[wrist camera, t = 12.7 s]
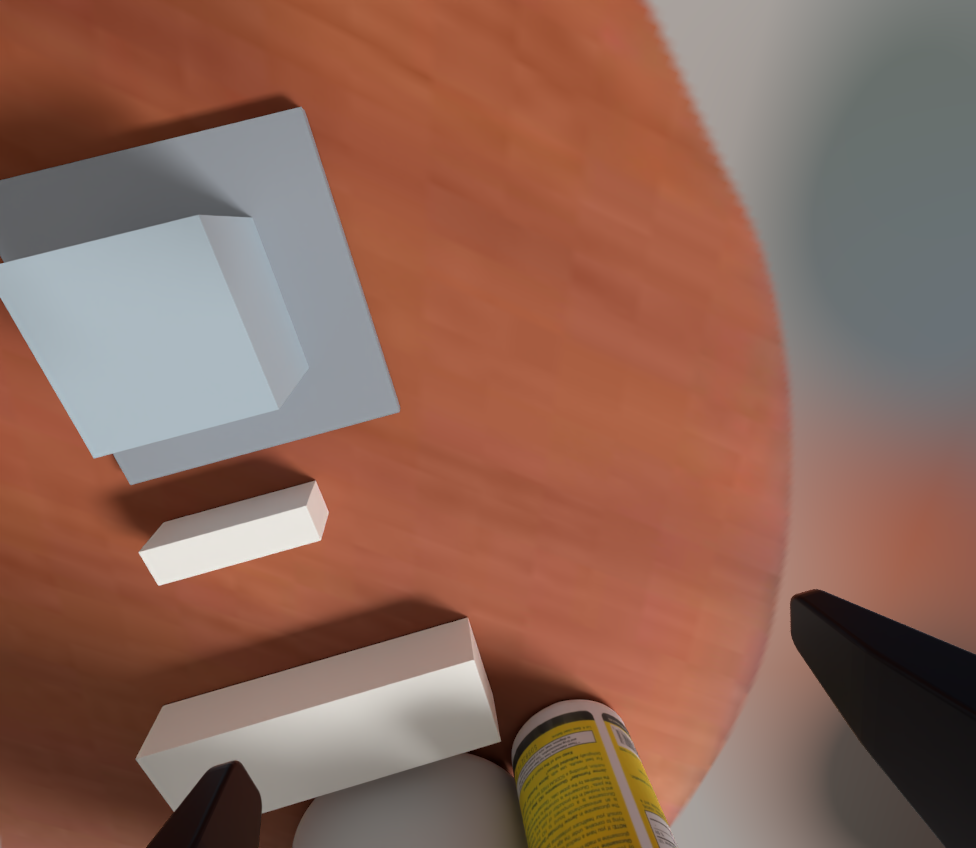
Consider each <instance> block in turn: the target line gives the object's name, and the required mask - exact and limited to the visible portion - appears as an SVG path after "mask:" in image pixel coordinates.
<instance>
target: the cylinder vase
mask: <svg viewBox="0 0 976 848" xmlns="http://www.w3.org/2000/svg"><path fill="white" fill-rule="evenodd" d="M292 848H528V845H527V839H526V834H525V829H524V824H523V819H522V814H521V809H520V804H519V799H518V794H517V789H516V783H515V779H514V778H513V777H512V776H511V775H510V774H509V773H508V772H507V771H505V770H504V769H503V768H501V767H499V766H498V765H496V764H494V763H493V762H491V761H489V760H486V759H484V758H481V757H479V756H476V755H472V754H469V753H461V754H458V755H455V756H451V757H448V758H445V759H441V760H438V761H435V762H432V763H428V764H425V765H422V766H418V767H415V768H412V769H408V770H405V771H402V772H398V773H395V774H392V775H388V776H385V777H382V778H378V779H375V780H372V781H368V782H365V783H362V784H358V785H355V786H352V787H349V788H345V789H342V790H339V791H335V792H332V793H329V794H325V795H322V796H319V797H316V798H315V799H314V801H313V802H312V803H311V804H310V806H309V807H308V809H307V810H306V812H305V813H304V815H303V817H302V819H301V821H300V823H299V825H298V827H297V830H296V833H295V836H294V840H293V845H292Z"/></svg>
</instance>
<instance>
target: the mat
mask: <svg viewBox="0 0 976 848" xmlns="http://www.w3.org/2000/svg"><path fill="white" fill-rule="evenodd" d="M195 215H212V216H231V217H250V218H253V221H254V223H255V226H256V229H257V231H258V234H259V236H260V239H261V242H262V244H263V247H264V250H265V252H266V255H267V258H268V260H269V263H270V266H271V268H272V271H273V274H274V276H275V279H276V281H277V284H278V287H279V289H280V292H281V295H282V297H283V300H284V303H285V305H286V308H287V311H288V313H289V316H290V318H291V321H292V324H293V326H294V329H295V332H296V334H297V337H298V340H299V342H300V345H301V348H302V350H303V353H304V356H305V358H306V361H307V363H308V366H309V368H308V370H307V371H306V372H305V374H304V375H303V377H302V378H301V379H300V381H299V382H298V384H297V385H296V386H295V388H294V389H293V391H292V392H291V393H290V395H289V396H288V397H287V399H286V400H285V402H284V403H283V404H282V406H281V407H280V409H278V410H275V411H271V412H267V413H263V414H260V415H256V416H252V417H248V418H245V419H241V420H237V421H233V422H229V423H226V424H222V425H218V426H214V427H211V428H207V429H203V430H199V431H196V432H192V433H188V434H184V435H180V436H177V437H173V438H169V439H165V440H162V441H158V442H154V443H150V444H147V445H143V446H139V447H135V448H132V449H128V450H124V451H120V452H116V453H113V455H114V457H115V459H116V460H117V462H118V464H119V466H120V467H121V469H122V471H123V473H124V474H125V476H126V478H127V480H128V481H129V483H130V485H133V484H137V483H140V482H144V481H148V480H151V479H155V478H159V477H162V476H166V475H170V474H173V473H177V472H181V471H184V470H188V469H192V468H195V467H199V466H203V465H206V464H210V463H214V462H218V461H221V460H225V459H229V458H232V457H236V456H240V455H243V454H247V453H251V452H254V451H258V450H262V449H265V448H269V447H273V446H276V445H280V444H284V443H287V442H291V441H295V440H299V439H302V438H306V437H310V436H313V435H317V434H321V433H324V432H328V431H332V430H335V429H339V428H343V427H346V426H350V425H354V424H357V423H361V422H365V421H368V420H372V419H376V418H380V417H383V416H387V415H391V414H394V413H398V412H400V405H399V402H398V399H397V396H396V393H395V389H394V386H393V383H392V380H391V377H390V374H389V371H388V368H387V365H386V361H385V358H384V355H383V352H382V349H381V346H380V343H379V340H378V337H377V334H376V330H375V327H374V324H373V321H372V318H371V315H370V312H369V309H368V306H367V302H366V299H365V296H364V293H363V290H362V287H361V284H360V281H359V278H358V275H357V271H356V268H355V265H354V262H353V259H352V256H351V253H350V250H349V247H348V243H347V240H346V237H345V234H344V231H343V228H342V225H341V222H340V219H339V216H338V212H337V209H336V206H335V203H334V200H333V197H332V194H331V191H330V188H329V184H328V181H327V178H326V175H325V172H324V169H323V166H322V163H321V160H320V157H319V153H318V150H317V147H316V144H315V141H314V138H313V135H312V132H311V129H310V125H309V122H308V119H307V116H306V113H305V111H304V109H303V108H302V107H298V108H294V109H290V110H286V111H282V112H278V113H273V114H269V115H265V116H261V117H257V118H253V119H249V120H245V121H241V122H237V123H233V124H228V125H224V126H220V127H216V128H212V129H208V130H204V131H200V132H196V133H192V134H188V135H183V136H179V137H175V138H171V139H167V140H163V141H159V142H155V143H151V144H147V145H143V146H138V147H134V148H130V149H126V150H122V151H118V152H114V153H110V154H106V155H102V156H98V157H93V158H89V159H85V160H81V161H77V162H73V163H69V164H65V165H61V166H57V167H53V168H48V169H44V170H40V171H36V172H32V173H28V174H24V175H20V176H16V177H12V178H8V179H3V180H0V256H1V258H2V260H3V261H4V263H6V262H10V261H14V260H18V259H22V258H26V257H30V256H34V255H38V254H42V253H46V252H50V251H54V250H58V249H62V248H66V247H70V246H74V245H78V244H82V243H86V242H90V241H94V240H98V239H102V238H107V237H111V236H115V235H119V234H123V233H127V232H131V231H135V230H139V229H143V228H147V227H151V226H155V225H159V224H163V223H167V222H171V221H175V220H179V219H183V218H187V217H191V216H195Z"/></svg>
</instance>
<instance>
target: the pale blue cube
mask: <svg viewBox="0 0 976 848" xmlns="http://www.w3.org/2000/svg"><path fill="white" fill-rule="evenodd" d="M0 298H1V299H2V301H3V303H4V305H5V306H6V308H7V310H8V311H9V313H10V315H11V317H12V318H13V320H14V322H15V323H16V325H17V327H18V329H19V330H20V332H21V334H22V336H23V337H24V339H25V341H26V342H27V344H28V346H29V348H30V349H31V351H32V353H33V354H34V356H35V358H36V360H37V361H38V363H39V365H40V366H41V368H42V370H43V372H44V373H45V375H46V377H47V379H48V380H49V382H50V384H51V385H52V387H53V389H54V391H55V392H56V394H57V396H58V397H59V399H60V401H61V403H62V404H63V406H64V408H65V409H66V411H67V413H68V415H69V416H70V418H71V420H72V422H73V423H74V425H75V427H76V428H77V430H78V432H79V434H80V435H81V437H82V439H83V440H84V442H85V444H86V446H87V447H88V449H89V451H90V452H91V454H92V456H93V458H98V457H101V456H105V455H109V454H113V453H116V452H120V451H124V450H128V449H132V448H135V447H139V446H143V445H147V444H150V443H154V442H158V441H162V440H165V439H169V438H173V437H177V436H180V435H184V434H188V433H192V432H196V431H199V430H203V429H207V428H211V427H214V426H218V425H222V424H226V423H229V422H233V421H237V420H241V419H245V418H248V417H252V416H256V415H260V414H263V413H267V412H271V411H275V410H278V409H280V407H281V406H282V404H283V403H284V402H285V400H286V399H287V397H288V396H289V395H290V393H291V392H292V391H293V389H294V388H295V386H296V385H297V384H298V382H299V381H300V379H301V378H302V377H303V375H304V374H305V372H306V371H307V370H308V368H309V366H308V363H307V361H306V358H305V356H304V353H303V350H302V348H301V345H300V342H299V340H298V337H297V334H296V332H295V329H294V326H293V324H292V321H291V318H290V316H289V313H288V311H287V308H286V305H285V303H284V300H283V297H282V295H281V292H280V289H279V287H278V284H277V281H276V279H275V276H274V274H273V271H272V268H271V266H270V263H269V260H268V258H267V255H266V252H265V250H264V247H263V244H262V242H261V239H260V236H259V234H258V231H257V229H256V226H255V223H254V221H253V218H250V217H231V216H212V215H195V216H191V217H187V218H183V219H179V220H175V221H171V222H167V223H163V224H159V225H155V226H151V227H147V228H143V229H139V230H135V231H131V232H127V233H123V234H119V235H115V236H111V237H107V238H102V239H98V240H94V241H90V242H86V243H82V244H78V245H74V246H70V247H66V248H62V249H58V250H54V251H50V252H46V253H42V254H38V255H34V256H30V257H26V258H22V259H18V260H14V261H10V262H6V263H1V264H0Z"/></svg>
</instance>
